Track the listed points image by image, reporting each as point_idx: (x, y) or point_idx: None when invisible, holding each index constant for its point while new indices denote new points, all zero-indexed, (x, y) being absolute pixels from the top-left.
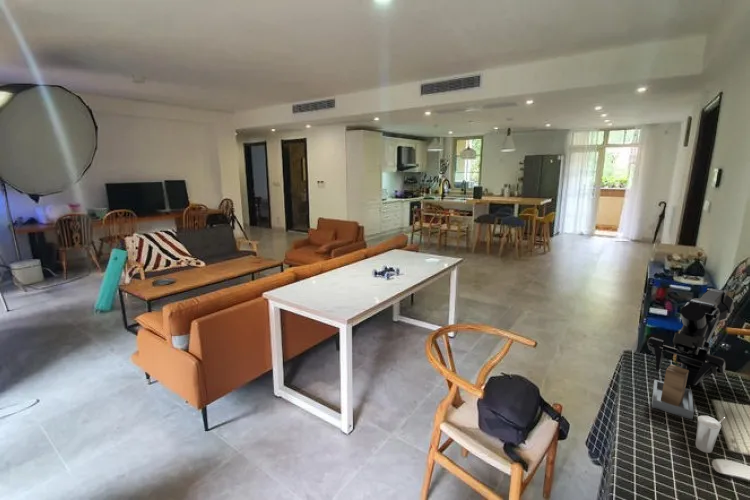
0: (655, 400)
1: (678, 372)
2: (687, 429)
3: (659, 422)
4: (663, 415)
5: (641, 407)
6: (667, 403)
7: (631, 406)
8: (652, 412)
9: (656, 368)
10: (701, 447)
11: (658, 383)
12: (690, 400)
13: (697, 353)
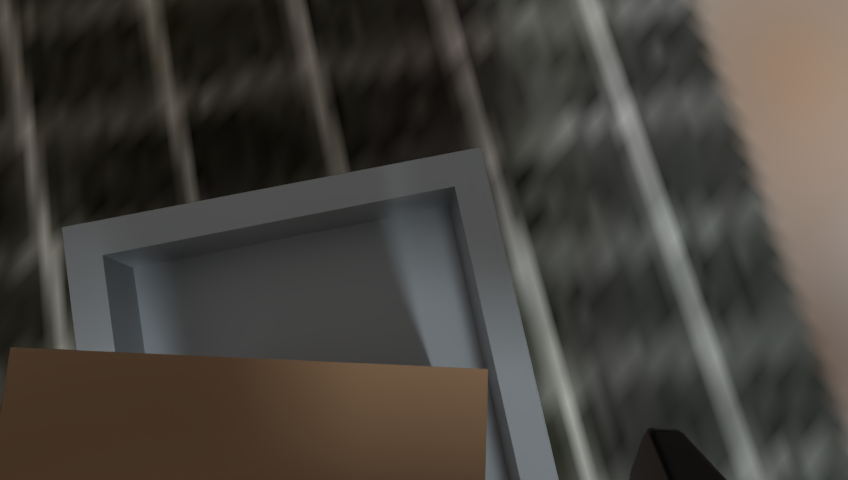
0: (457, 160)
1: (176, 409)
2: (124, 28)
3: None
4: (344, 108)
5: (544, 91)
6: (335, 199)
7: (619, 33)
8: (438, 80)
9: (703, 461)
10: None
11: None
12: None
13: None
